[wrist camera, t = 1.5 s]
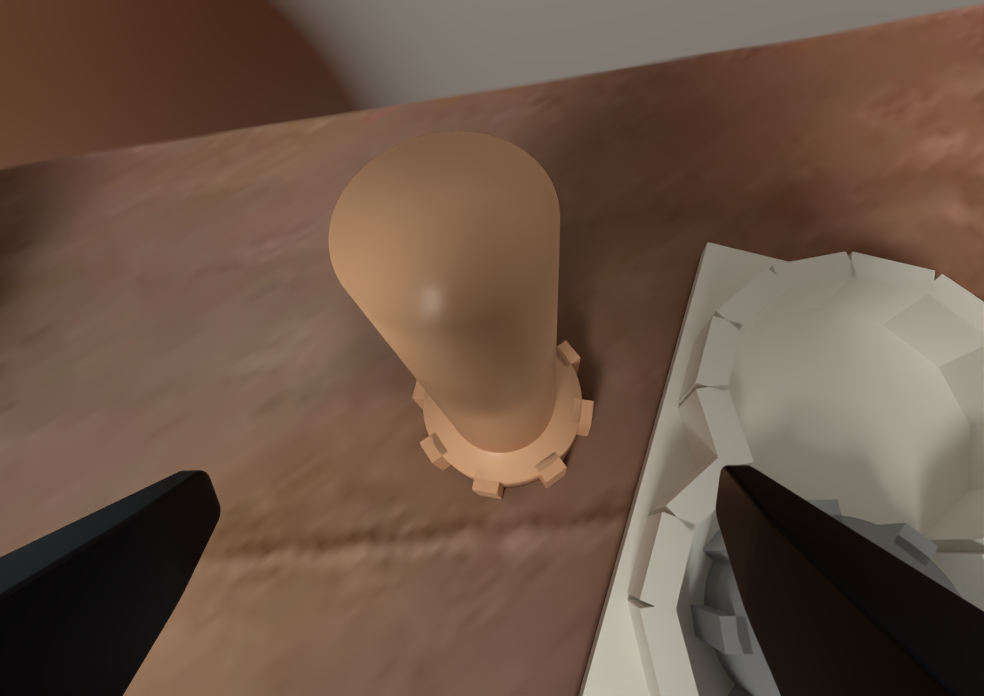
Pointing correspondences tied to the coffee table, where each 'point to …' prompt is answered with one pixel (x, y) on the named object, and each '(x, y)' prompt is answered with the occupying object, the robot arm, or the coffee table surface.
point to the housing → (796, 451)
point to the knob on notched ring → (468, 300)
